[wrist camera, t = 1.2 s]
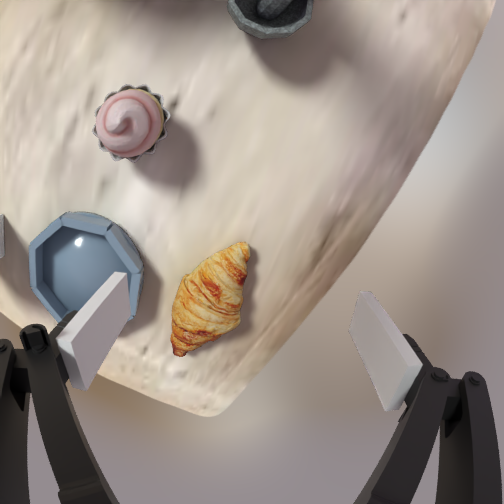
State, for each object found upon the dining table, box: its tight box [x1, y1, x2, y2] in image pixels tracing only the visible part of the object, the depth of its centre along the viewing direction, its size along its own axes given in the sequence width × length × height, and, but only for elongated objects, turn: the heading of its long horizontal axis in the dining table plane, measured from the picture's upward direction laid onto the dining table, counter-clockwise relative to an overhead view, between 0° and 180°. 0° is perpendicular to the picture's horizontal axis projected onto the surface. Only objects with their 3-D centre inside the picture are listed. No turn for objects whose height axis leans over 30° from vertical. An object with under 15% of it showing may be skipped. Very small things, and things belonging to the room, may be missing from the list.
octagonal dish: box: [29, 212, 144, 323], centre depth 38 cm, size 18×18×4 cm
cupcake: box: [92, 84, 171, 163], centre depth 29 cm, size 9×9×10 cm
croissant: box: [170, 242, 251, 357], centre depth 42 cm, size 21×10×8 cm, turn 149°
